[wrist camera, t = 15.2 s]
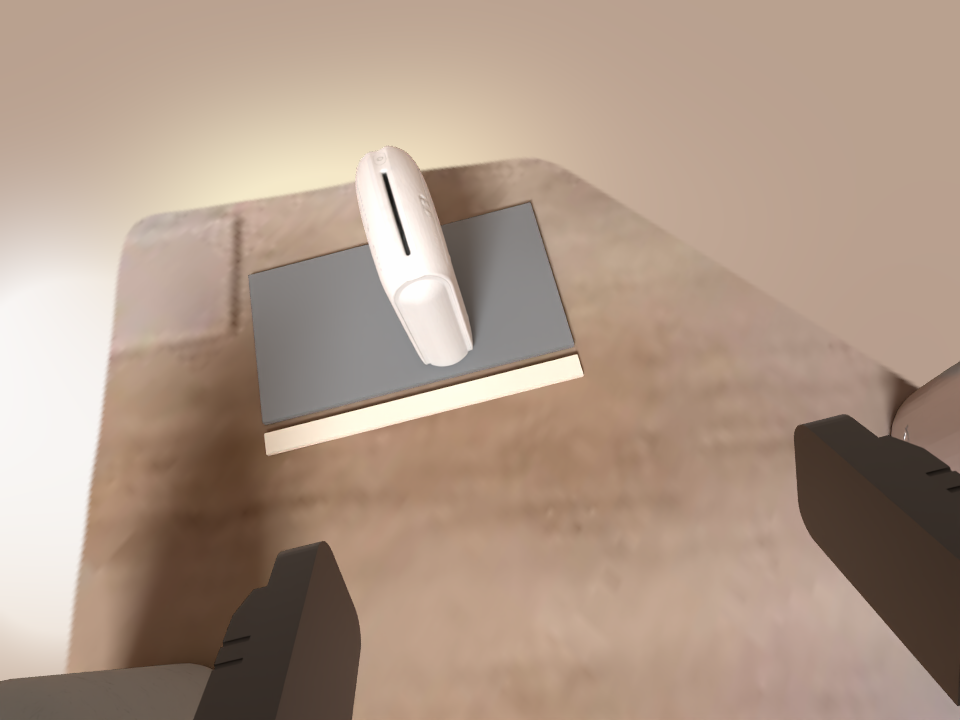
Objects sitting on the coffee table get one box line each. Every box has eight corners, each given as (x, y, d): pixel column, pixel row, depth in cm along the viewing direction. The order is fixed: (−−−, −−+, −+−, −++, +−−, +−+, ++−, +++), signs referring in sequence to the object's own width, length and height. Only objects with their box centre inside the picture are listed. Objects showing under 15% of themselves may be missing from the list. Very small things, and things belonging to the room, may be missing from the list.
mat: (530, 206, 50) (530, 202, 50) (583, 376, 44) (583, 373, 44) (251, 278, 50) (248, 275, 50) (268, 455, 45) (265, 454, 44)
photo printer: (387, 254, 49) (335, 142, 38) (442, 237, 49) (406, 119, 38) (422, 376, 45) (374, 292, 34) (482, 357, 45) (454, 266, 34)
